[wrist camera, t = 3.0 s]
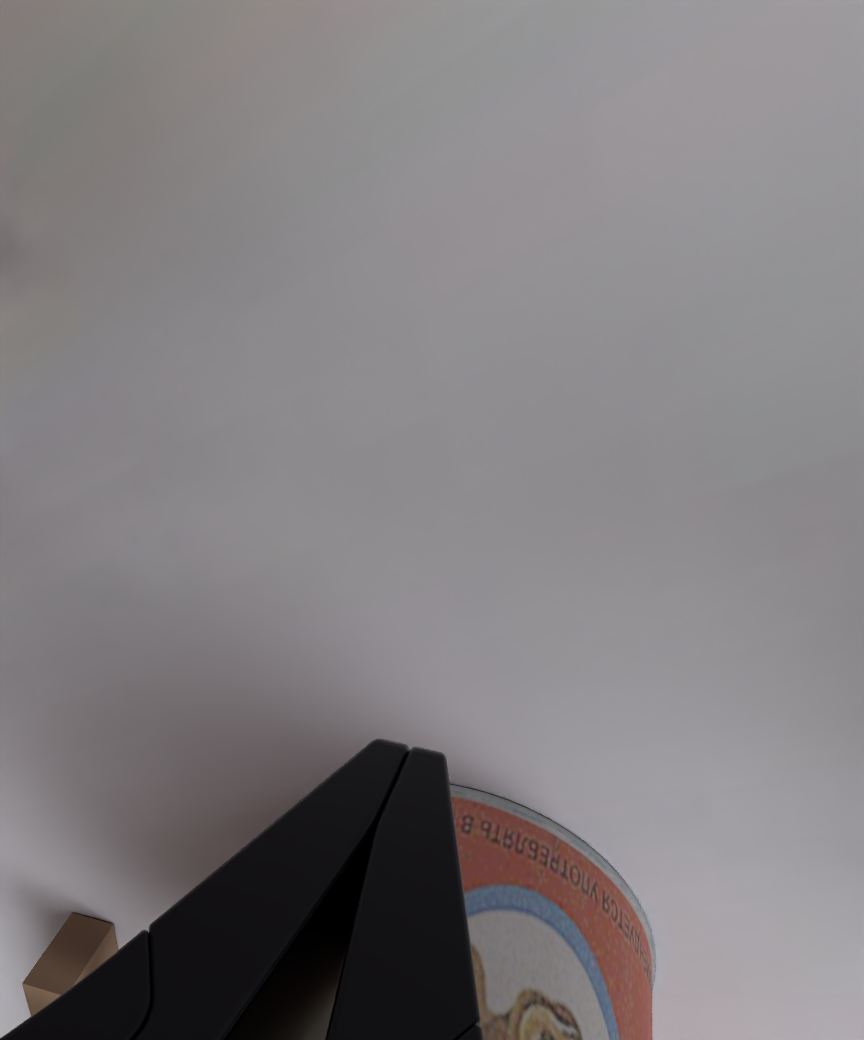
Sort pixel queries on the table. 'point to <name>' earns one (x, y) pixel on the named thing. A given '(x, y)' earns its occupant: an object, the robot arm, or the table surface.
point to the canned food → (549, 929)
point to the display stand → (69, 959)
